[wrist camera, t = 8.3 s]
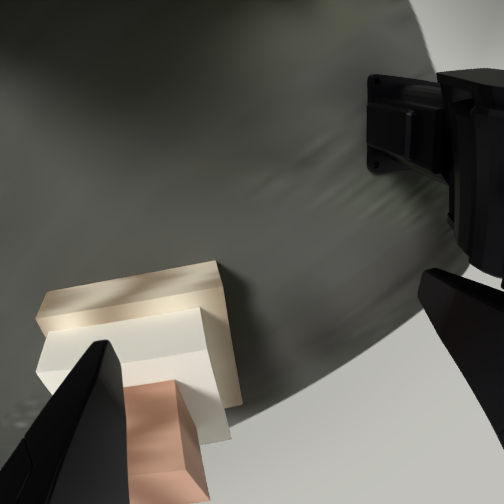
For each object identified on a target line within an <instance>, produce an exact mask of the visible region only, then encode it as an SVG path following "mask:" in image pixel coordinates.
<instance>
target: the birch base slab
mask: <svg viewBox="0 0 504 504" xmlns="http://www.w3.org/2000/svg"><path fill="white" fill-rule="evenodd" d="M197 307H200V311H201V316H202V320H203V325H204V329H205V333H206V338H207V342H208V346H209V350H210V354H211V358H212V362H213V366H214V370H215V374H216V378H217V382H218V386H219V390H220V393H221V397H222V401H223V405H224V408H229V407H234V406H239V405H243V402H242V396H241V391H240V385H239V380H238V374H237V369H236V363H235V357H234V351H233V345H232V339H231V334H230V328H229V321H228V315H227V309H226V303H225V297H224V290H223V285H222V281H221V278H220V274H219V271H218V267H217V264H216V261H210V262H205V263H200V264H194V265H189V266H184V267H178V268H173V269H167V270H162V271H157V272H151V273H146V274H141V275H135V276H130V277H125V278H119V279H114V280H109V281H103V282H98V283H92V284H87V285H82V286H76V287H71V288H66V289H60V290H55V291H49V292H47V293H46V296H45V298H44V300H43V302H42V305H41V307H40V309H39V311H38V314H37V316H36V318H35V319H36V321H37V322H38V324H39V326H40V328H41V330H42V332H43V333H44V335H45V337H46V338H47V335H48V332H50V331H58V330H65V329H72V328H79V327H85V326H92V325H98V324H105V323H111V322H117V321H124V320H130V319H136V318H142V317H147V316H153V315H159V314H164V313H170V312H176V311H181V310H187V309H192V308H197Z"/></svg>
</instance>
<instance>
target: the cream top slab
mask: <svg viewBox="0 0 504 504" xmlns="http://www.w3.org/2000/svg"><path fill="white" fill-rule="evenodd" d="M104 339H107V340H109V341H110V342H111V344H112V346H113V348H114V350H115V352H116V355H117V357H118V359H119V361H120V363H121V368H122V379H123V387H129V386H137V385H143V384H150V383H157V382H163V381H169V380H175V382H176V384H177V387H178V389H179V391H180V393H181V396H182V398H183V400H184V402H185V405H186V407H187V409H188V411H189V413H190V415H191V418H192V420H193V422H194V424H195V426H196V428H197V434H198V440H199V445H203V444H209V443H214V442H220V441H225V440H230V439H232V438H231V434H230V430H229V426H228V422H227V418H226V413H225V409H224V405H223V401H222V397H221V393H220V390H219V386H218V382H217V378H216V374H215V370H214V366H213V362H212V358H211V354H210V350H209V346H208V342H207V338H206V333H205V329H204V325H203V320H202V316H201V311H200V307H197V308H192V309H187V310H181V311H176V312H170V313H164V314H159V315H153V316H147V317H142V318H136V319H130V320H124V321H117V322H111V323H105V324H98V325H92V326H85V327H79V328H72V329H65V330H58V331H50V332H48V335H47V338H46V341H45V344H44V347H43V350H42V353H41V356H40V360H39V363H38V366H37V370H36V373H37V375H38V376H39V378H40V379H41V380H42V382H43V383H44V385H45V386H46V387H47V389H48V390H49V391H50V393H51V394H52V395H53V394H54V393H55V391H56V390H57V389H58V387H59V386H60V385H61V383H62V382H63V380H64V379H65V378H66V376H67V375H68V374H69V372H70V371H71V370H72V368H73V367H74V366H75V364H76V363H77V362H78V361H79V359H80V358H81V357H82V355H83V354H84V353H85V351H86V350H87V349H88V348H89V346H90V345H91V344H92V343H93V342H94V341H97V340H104Z"/></svg>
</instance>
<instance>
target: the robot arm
mask: <svg viewBox="0 0 504 504" xmlns="http://www.w3.org/2000/svg"><path fill="white" fill-rule="evenodd" d="M436 74H437V80H438V83H435V82H429V81H423V80H417V79H411V78H403V77H396V76H388V75H378V74H372V75H370V76H369V77H368V80H367V86H368V105H367V140H366V141H367V167H368V169H369V170H371V171H373V172H384V171H398V170H415V171H417V172H419V173H421V174H424V175H426V176H428V177H430V178H432V179H434V180H436V181H438V182H440V183H442V184H444V185H446V186H448V187H449V213H448V217H447V222H448V224H449V225H450V226H451V228H452V229H453V230H454V235H455V238H456V241H457V244H458V245H459V246H460V247H461V248H462V250H463V251H464V252H465V253H466V254H467V255H468V256H469V263H470V264H471V265H473V266H474V267H476V268H477V269H479V270H481V271H482V272H484V273H486V274H489V275H491V276H494V277H497V278H501V279H502V283H501V288H502V289H504V70H499V69H491V68H480V69H479V68H478V69H467V70H456V71H446V72H437V73H436ZM375 79H376V80H377V84H376V85H375V84H374V80H375ZM439 83H440V84H439ZM375 161H376V165H375V166H374V167H373V163H374V162H375ZM418 299H419V301H420V303H421V305H422V306H423V308H424V310H425V312H426V314H427V315H428V317H429V319H430V321H431V323H432V325H433V326H434V328H435V330H436V332H437V334H438V336H439V337H440V339H441V340H442V342H443V344H444V345H445V347H446V348H447V350H448V352H449V353H450V355H451V356H452V358H453V359H454V361H455V363H456V364H457V366H458V368H459V369H460V371H461V372H462V374H463V376H464V377H465V379H466V381H467V382H468V384H469V386H470V387H471V389H472V391H473V393H474V394H475V396H476V398H477V400H478V401H479V403H480V405H481V407H482V408H483V410H484V412H485V414H486V416H487V417H488V419H489V421H490V423H491V425H492V427H493V429H494V431H495V433H496V435H497V437H498V439H499V441H500V443H501V445H502V447H503V449H504V292H503V291H500V290H498V289H495V288H492V287H489V286H487V285H484V284H481V283H478V282H475V281H473V280H470V279H467V278H464V277H461V276H458V275H455V274H452V273H449V272H447V271H444V270H441V269H438V268H431V269H428V270H425V271H424V272H423V273H422V277H421V281H420V285H419V289H418ZM0 504H130V498H129V484H128V464H127V422H126V410H125V401H124V391H123V379H122V368H121V363H120V361H119V359H118V357H117V355H116V352H115V350H114V348H113V346H112V344H111V342H110V341H109V340H107V339H104V340H97V341H94V342H93V343H92V344H91V345H90V346H89V348H88V349H87V350H86V351H85V353H84V354H83V355H82V357H81V358H80V359H79V361H78V362H77V363H76V364H75V366H74V367H73V368H72V370H71V371H70V372H69V374H68V375H67V376H66V378H65V379H64V380H63V382H62V383H61V385H60V386H59V387H58V389H57V390H56V391H55V393H54V394H53V396H52V397H51V398H50V400H49V401H48V402H47V404H46V405H45V407H44V408H43V409H42V411H41V412H40V414H39V415H38V417H37V418H36V419H35V421H34V422H33V424H32V425H31V427H30V428H29V430H28V431H27V433H26V434H25V436H24V438H22V440H21V441H20V443H19V444H18V446H17V447H16V449H15V450H14V452H13V453H12V455H11V456H10V458H9V459H8V460H7V462H6V463H5V465H4V466H3V467H2V469H1V470H0Z"/></svg>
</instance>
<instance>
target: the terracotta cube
mask: <svg viewBox="0 0 504 504" xmlns="http://www.w3.org/2000/svg"><path fill="white" fill-rule="evenodd" d="M123 391H124V401H125V410H126V422H127V464H128V484H129V498H130V504H190V503H198V502H205V501H210V497H209V492H208V487H207V482H206V477H205V472H204V467H203V462H202V457H201V452H200V446H199V440H198V434H197V428H196V426H195V424H194V422H193V420H192V418H191V415H190V413H189V411H188V409H187V407H186V405H185V402H184V400H183V398H182V396H181V393H180V391H179V389H178V387H177V384H176V382H175V380H169V381H163V382H157V383H150V384H143V385H137V386H129V387H123Z"/></svg>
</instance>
